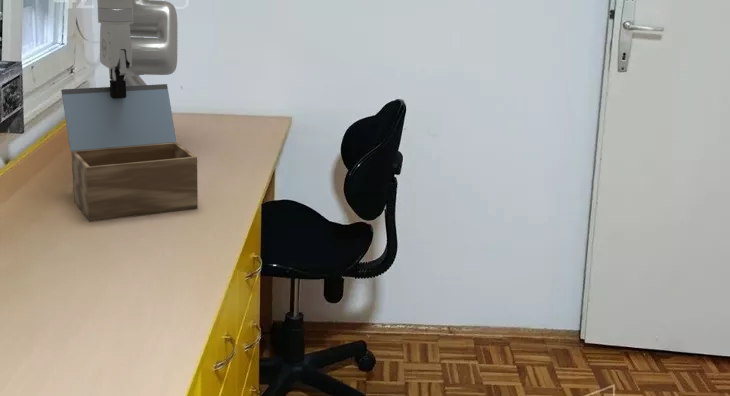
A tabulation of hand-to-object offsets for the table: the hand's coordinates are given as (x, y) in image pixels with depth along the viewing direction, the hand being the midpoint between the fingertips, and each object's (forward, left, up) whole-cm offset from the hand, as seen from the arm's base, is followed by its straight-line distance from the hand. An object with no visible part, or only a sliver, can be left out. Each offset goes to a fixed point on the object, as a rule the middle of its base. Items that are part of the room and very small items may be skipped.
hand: (118, 97), depth 202 cm
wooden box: (+11, 0, -22) cm, 25 cm away
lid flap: (+1, 0, -4) cm, 4 cm away
